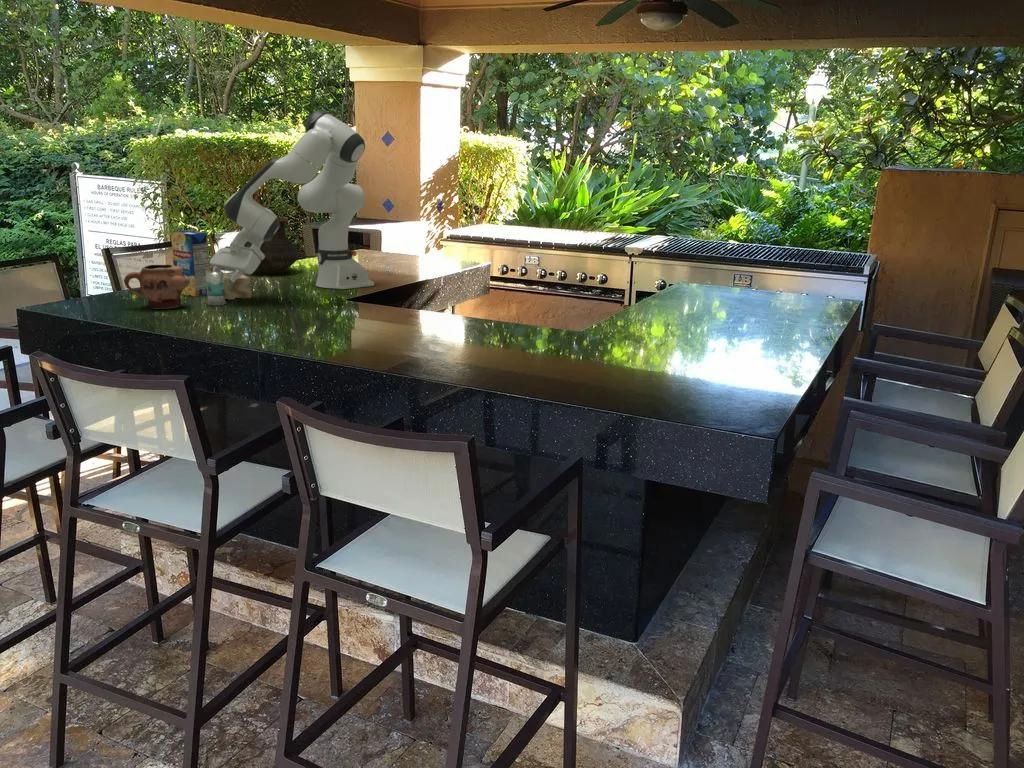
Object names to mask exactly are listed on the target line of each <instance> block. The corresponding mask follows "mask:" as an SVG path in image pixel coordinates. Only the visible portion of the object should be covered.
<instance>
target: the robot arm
mask: <svg viewBox="0 0 1024 768" xmlns="http://www.w3.org/2000/svg"><path fill="white" fill-rule="evenodd" d="M304 126H305V127H304V128H305V133H304V134H303V135H302V136H301V137H300V138H299V139H298V140H297V142H296V143H295V145H294V146H293V147H292V148H291V150H290V151H289V152H288V153H287V154H286V155H285V156H283V157H280V158H279V157H274V158H272V159H271V160H269V161H268V162H266V164H265V165H264V166H262V167H261V169H259V170H258V171H257V172H256V173H255V174H254V175H253V176H252V177H251V178H250V179H249V180H248V181H247V182H246V183H245V184H244V185H243V186H242V187H241V188H240V189H239V190H237V191H236V192H234V193H233V194H231V196H229V198H228V199H227V200H226V202H225V204H224V206H223V210H224V213H225V216H226V218H227V219H228V220H229V221H231V222H233V223H235V224H237V225H239V226H240V227H242V229H241V230H240V231H239V232H238V233H237V234H236V235H235V236H234V238H233V239H232V241H231V242H230V244H229V246H228V245H227V246H224V247H221V248H219V249H218V250H217V251H216V252H215V253H214V255H213V256H211V259H209V264H210V267H212V271H222V272H229V273H230V272H231V273H233V274H229V275H230V277H229V278H228V280H229V281H230V282H233V283H234V282H235V280H236V279H238V278H239V277H240V276H242V274H243V275H252V274H253V273H254V272H255V271H256V269H257V267H258V266H259V264H260V262H261V260H263V259H264V257H265V255H264V254H263V253H262V251H261V250H260V247H261V244H262V243H263V242H266V241H270V240H271V239H272V237H273V235H274V234H275V233H276V232H277V231H278V229H279V228H280V224H279V219H278V217H279V216H277V215H276V214H275V213H274V212H273V211H272V210H271V209H269V208H267V207H265V206H263V205H262V204H260V203H259V202H257V201H255V200H254V199H253V198H252V196H253V194H255V193H256V192H257V191H258V190H259V189H260V188H261V187H262V186H263V185H264V184H265V183H266V182H268V181H269V180H272V179H273V180H274V179H277V180H281V181H286V182H289V183H292V184H301V185H302V186H301V187H300V188H299V190H298V193H297V201H298V205H299V206H300V207H301V208H302V210H303V211H305V212H310V213H316V214H320V213H322V214H325V213H327V214H328V213H330V214H331V216H330V218H329V220H328V221H326V222H324V223H322V224H321V225H320V226H319V228H318V231H317V232H318V233H317V237H318V249H317V255H316V256H317V263H318V270H317V278H316V283H315V286H316V287H319V288H325V289H337V290H346V289H347V290H349V289H356V288H364V287H372V286H374V285H375V282H374V281H372V280H370V279H369V275H368V270H367V269H366V268H365V267H364V266H363V265H362V264H360V263H359V262H358V261H357V260H355V259H354V258H353V257H356V256H357V255H358V252H357V251H356V250H352V249H349V228H350V224H351V222H352V220H353V218H354V217H355V215H356V214H357V213H358V212H359V211H361V209H362V208H363V207H364V205H365V201H366V194H365V191H364V190H363V188H362V187H361V186H360V185H359V184H355V183H350V182H352V180H353V179H354V177H355V174H356V169H357V166H358V162H359V160H360V158H362V156H363V154H364V152H365V149H366V143H365V139H364V138H363V137H362V136H361V135H360V134H359V133H358V132H356V131H355V130H354V129H352V127H350V126H349V125H348V124H347V123H345V122H343V121H342V120H340V119H339V118H337V117H335V116H333V115H331V113H330V112H328V111H325V110H323V109H318V110H315V111H313V112H311V113H310V115H309V116H308V118H307V119H306V122H305V125H304ZM319 171H320V172H319ZM316 175H317V176H316Z"/></svg>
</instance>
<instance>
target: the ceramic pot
mask: <svg viewBox="0 0 1024 768" xmlns="http://www.w3.org/2000/svg"><path fill="white" fill-rule="evenodd" d="M277 217H278V219H279V224H280V228H279V229H278V231H277V232H276V233H275V234H274V235H273V237H272V239H271V240H270V241H266V242H263V243H262V244H261V247H260V250H261V251H262V253H263V254H264V255H265V257H264V259H263V260H261V262H260V264H259V266H258V267H257V269H256V270H255V271H256V272H258V273H259V274H262V275H277V274H281V273H282V272H285V271H286V270H288V268H290V267H291V266H293V265H294V264H295V263H296V262H297V260H299V259H300V257H301V253H300V251H299V250H298V248H297V247H296V246H295V245H294V244H293V242H292V241H290V239H289V238H288V237H287V233H286V223H287V222H288V221H289V219H288V218H286V217H279V216H277Z"/></svg>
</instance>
